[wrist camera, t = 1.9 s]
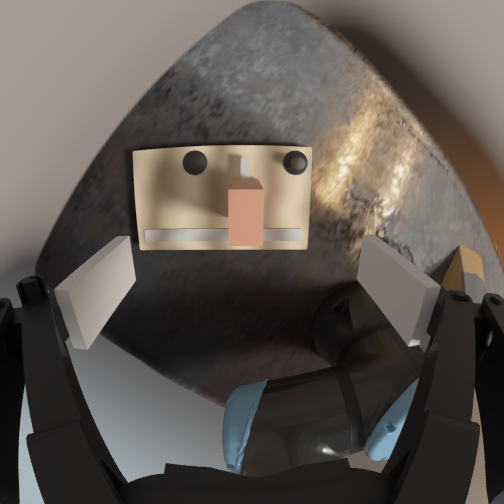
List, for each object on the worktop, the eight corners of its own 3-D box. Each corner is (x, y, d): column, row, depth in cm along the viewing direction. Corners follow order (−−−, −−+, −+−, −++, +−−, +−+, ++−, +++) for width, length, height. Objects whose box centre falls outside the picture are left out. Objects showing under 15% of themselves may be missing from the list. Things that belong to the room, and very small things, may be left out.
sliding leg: (258, 157, 32) (264, 160, 23) (257, 219, 35) (262, 245, 25) (232, 157, 32) (227, 159, 23) (232, 219, 34) (228, 246, 25)
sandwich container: (482, 256, 40) (533, 289, 26) (447, 324, 45) (487, 369, 31) (459, 242, 39) (516, 277, 25) (421, 317, 44) (464, 367, 30)
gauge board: (308, 147, 34) (317, 147, 30) (303, 244, 38) (311, 255, 34) (138, 151, 33) (125, 151, 29) (144, 245, 38) (134, 256, 34)
